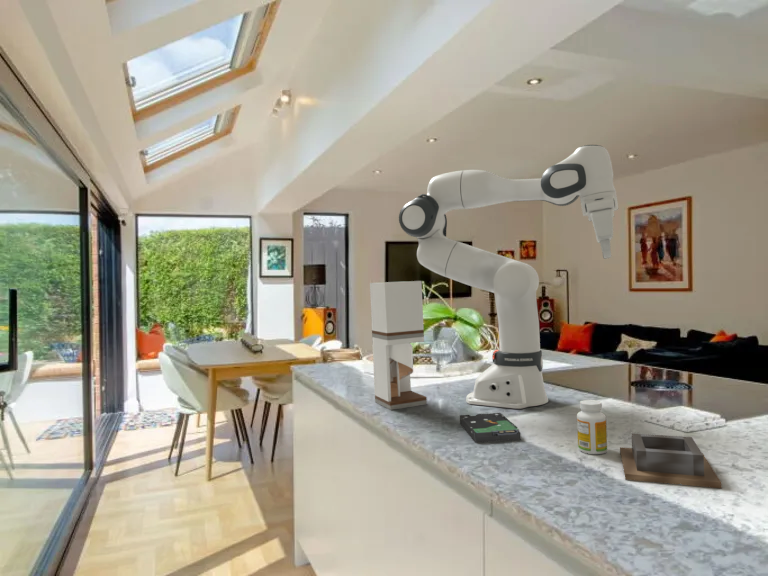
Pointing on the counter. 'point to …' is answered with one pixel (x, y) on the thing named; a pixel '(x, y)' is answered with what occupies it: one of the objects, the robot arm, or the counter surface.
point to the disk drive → (489, 428)
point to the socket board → (667, 461)
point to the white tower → (396, 341)
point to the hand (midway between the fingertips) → (607, 258)
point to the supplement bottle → (591, 428)
